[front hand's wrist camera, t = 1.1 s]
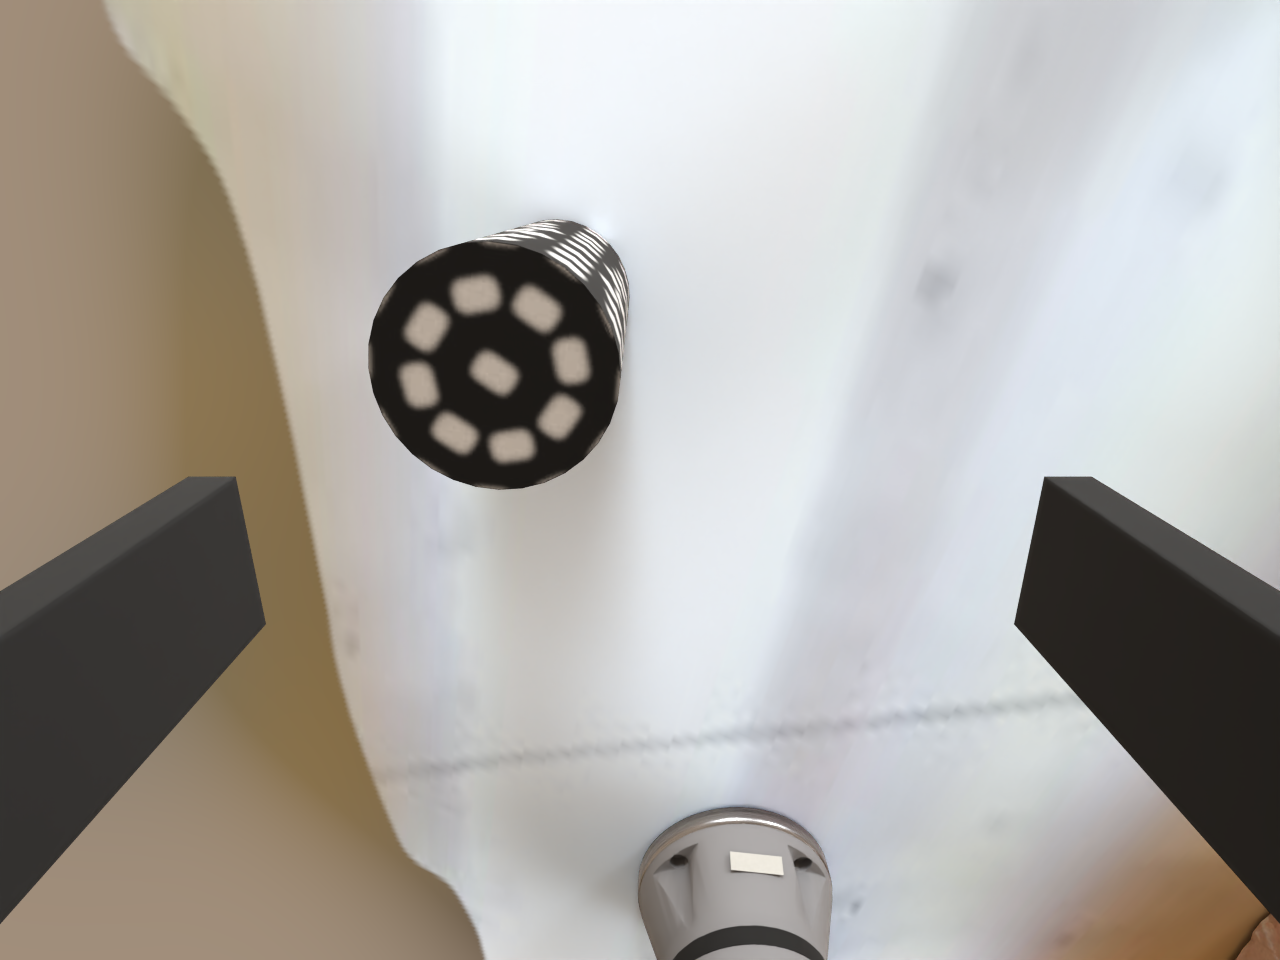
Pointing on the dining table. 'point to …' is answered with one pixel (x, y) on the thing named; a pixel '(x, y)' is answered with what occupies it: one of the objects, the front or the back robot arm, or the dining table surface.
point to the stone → (1263, 942)
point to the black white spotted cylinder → (504, 353)
